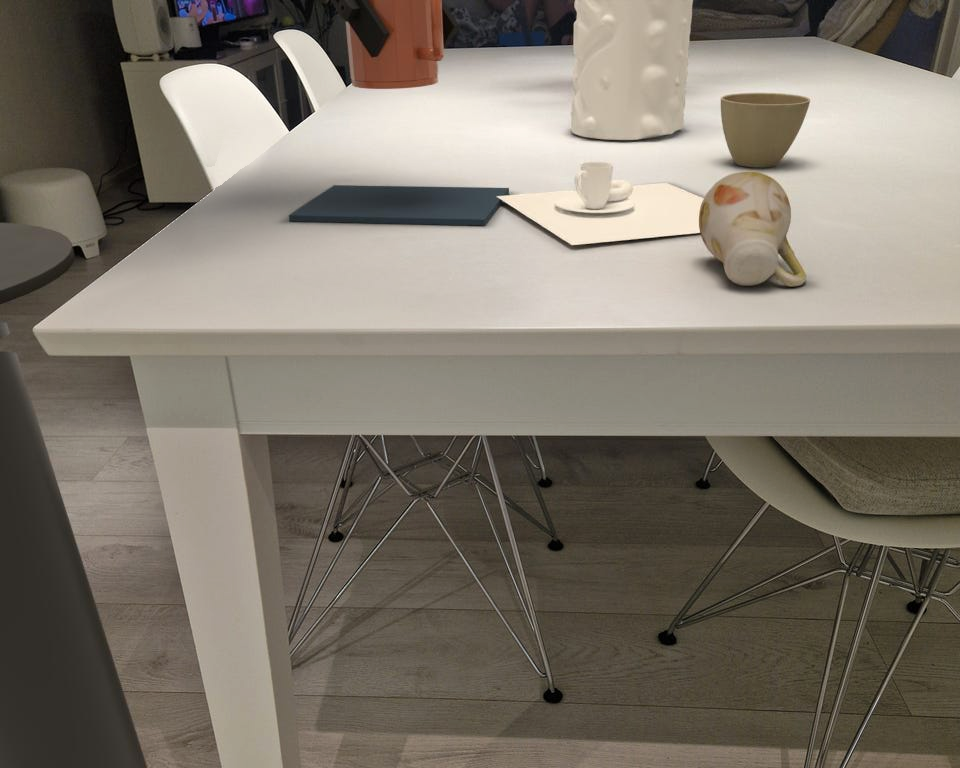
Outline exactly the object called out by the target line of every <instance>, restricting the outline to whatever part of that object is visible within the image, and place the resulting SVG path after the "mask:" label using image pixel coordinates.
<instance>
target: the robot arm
mask: <svg viewBox="0 0 960 768" xmlns="http://www.w3.org/2000/svg"><path fill="white" fill-rule="evenodd" d="M317 1H318V2H319V3H321V4H327V3H328V2H329V0H317ZM330 2H331V3H332V5H333V6H334V8H335V10H336V11H337V13H338V14H339V16H340V18H342V19H343V20H344V21H345V23H346V22H348V23H349V24H350V26H351V27H352V29H353V30H354V32H355V33H356V35H357V36H358V38H359V39H360V41H361V42H362V44H363V45H364V47H365V48H366V50H367V51H368V53H369V54H370V56H371V57H378V55H379V53H380V51H381V50H382V48H383V46H384V44H385V42H386V40H387V39H388V37H389V35H390V32H389V31H388V29H387V28H386V26H385V25H384V23H383V22H382V20H381V19H380V17H379V16H378V14H377V13H376V11H375V10H374V8H373V7H372V5H371V4H370V2H369V1H368V0H330ZM442 24H443V47H444V49H447V47H448V46H449V44H450V42H451V41H452V39H453V38H454V36H455V35H456V33H457V31H458V30H459V29H460V24H459V22H458V21H457V19H456V17H454V15H453V13H452V12H451V11H450V9H449V7H448V6H447V4H446V2H445V1H444V0H442Z"/></svg>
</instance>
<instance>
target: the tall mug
mask: <svg viewBox="0 0 960 768" xmlns="http://www.w3.org/2000/svg"><path fill="white" fill-rule="evenodd" d="M368 1H369V2H370V4H371V5H372V7H373V8H374V10H375V11H376V13H377V14H378V16H379V17H380V19H381V20H382V22H383V23H384V25H385V26H386V28H387V29H388V31H389V32H390V35H389V37H388V39H387V40H386V42H385V44H384V46H383V48H382V50H381V51H380V53H379V55H378V57H371V56H370V54H369V53H368V51H367V50H366V48H365V47H364V45H363V44H362V42H361V41H360V39H359V38H358V36H357V35H356V33H355V32H354V30H353V29H352V27H351V26H350V24H349V23H348V22H346V21H345V30H346V42H347V52H348V53H347V54H348V63H349V73H350V79H351V86H352V87H354V88H358V89H369V90H397V89H399V90H400V89H401V90H402V89H412V88H421V87H428V86H432V85H436V84H438V83H439V62H442V61H443V59H444V57H445V51H444V49H445V48H444V47H443V24H442V0H368Z"/></svg>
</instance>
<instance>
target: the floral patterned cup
mask: <svg viewBox="0 0 960 768" xmlns="http://www.w3.org/2000/svg"><path fill="white" fill-rule="evenodd" d="M703 198H704V199H703V201H702V204H701V207H700V212H699V229H700V233H699V234H700V236H701V239H702V242H703V243H704V246H705V247H706V248H707V250H708V252H709V253H710V254H711V255H712V256H713V257H714V258H715V259H717V260H718V261H719V262H721V263H722V264H723V270H724V272H725V275H726V276H727V279H729V280H730V281H731V282H732V283H734V284H736V285H738V286H742V287H752V286H753V287H754V286H757V285H761V284H762V283H764V282H765V281H767V280H768V279H769V278H770V277H772V276H773V277H774V278H775V279H776V281H778V282H780V283H782V284H783V285H784V286H787V287H798V286H802V285H803V284H804V283H806V279H807V274H806V271H805V270H804V268H803V267H802V264H801V263H800V261H799V260H798V258H797V257H796V254H795V252H794V250H793V249H792V247H791V245H790V242H789V241H788V238H787V235H788V232H789V228H790V225H791V219H792V207H791V204H790V200H789V197H788V195H787V192H786V191H785V189H784V188H783V186H781V184H780V183H779V182H778V181H777V180H775V179H774V178H773V177H771V176H770V175H767V174H765V173H762V172H759V171H739V172H734V173H731V174H730V173H729V174H727V175H726V176H724V177H722V178H721V179H719V180H718V181H716V182H715V183H714V184H713V186H712V187H711V188H710V189H709V190H708V191H707V193H706V194H705V196H704V197H703ZM779 256H780V258H781V259H782V260H783V261H784V263H785V264H786V265H787V266H788V267H789V269H790V271H791V272H792V273H790V272H788V271H786V270H785V269H784V268H783V267H782V266H781V264H779Z"/></svg>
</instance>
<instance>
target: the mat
mask: <svg viewBox="0 0 960 768" xmlns="http://www.w3.org/2000/svg"><path fill="white" fill-rule="evenodd" d="M507 195H510V188H509V187H473V186H472V187H471V186H466V187H465V186H415V185H414V186H413V185H408V186H407V185H403V186H402V185H355V184H354V185H349V184H348V185H346V184H345V185H344V184H343V185H342V184H334V185H332V186H330V187H329V188H328V189H326V190H325V191H323V192H321V193H320V194H318V195H317V196H315V197H314V198H312V199H311V200H308V202H306V203H305V204H303V205H301V206H300V207H298V208H297V209H296V210H294V211H292V212H290V213H289V214H288V221H289V222H304V223H307V222H308V223H309V222H310V223H348V224H350V223H352V224H355V223H356V224H392V225H394V224H395V225H435V226H436V225H437V226H439V225H440V226H442V225H443V226H476V227H477V226H479V227H480V226H481V227H483V226H484V227H485V226H486V225H487V223H488V222H489V220H490V219H491V218H492V216H493V215H494V214H495V213H496V211H497V210H498V209H499V207H500V206H501V204H502V203H503V202H504V201H503V200H501V199H499V198H498V197H496V196H507Z"/></svg>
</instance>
